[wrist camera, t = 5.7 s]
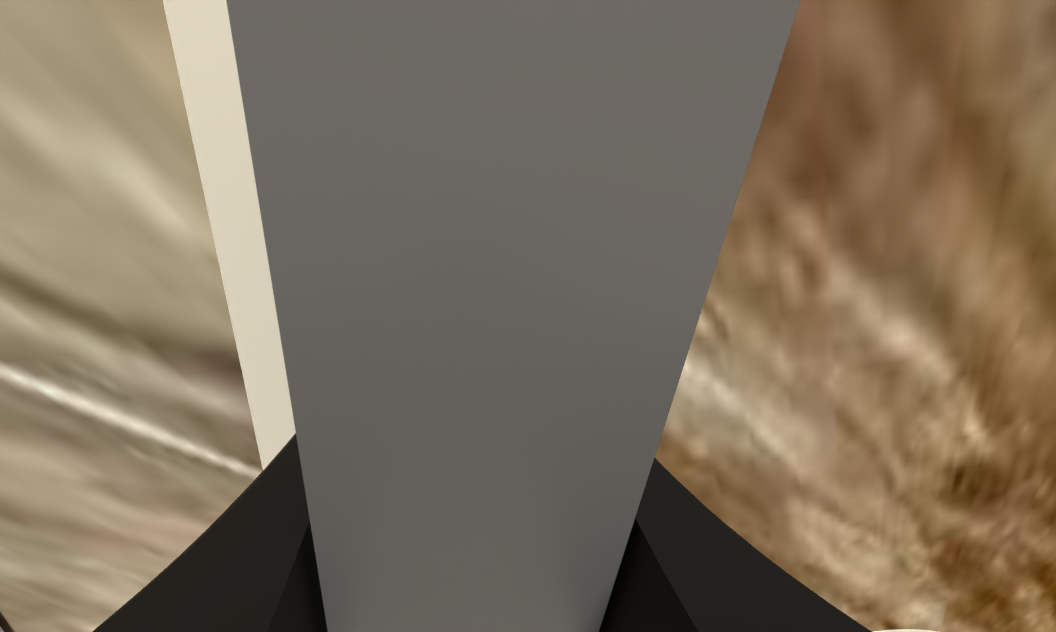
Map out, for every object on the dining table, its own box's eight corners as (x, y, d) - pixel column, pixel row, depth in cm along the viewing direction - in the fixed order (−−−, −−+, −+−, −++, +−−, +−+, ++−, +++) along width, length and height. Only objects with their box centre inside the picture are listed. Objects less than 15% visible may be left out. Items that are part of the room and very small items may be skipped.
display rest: (587, 520, 20) (604, 579, 18) (296, 534, 18) (276, 602, 16) (748, -125, 10) (826, -164, 8) (154, -241, 8) (54, -332, 6)
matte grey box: (508, 555, 15) (538, 820, 10) (392, 562, 15) (362, 847, 10) (590, -25, 8) (834, -110, 3) (365, -58, 7) (188, -239, 2)
